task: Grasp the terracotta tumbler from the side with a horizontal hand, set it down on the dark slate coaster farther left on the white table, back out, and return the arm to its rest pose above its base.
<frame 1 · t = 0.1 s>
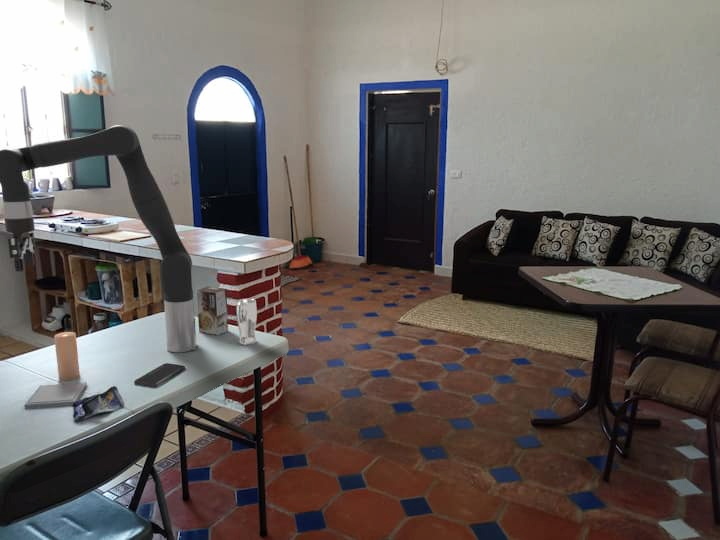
hand: (25, 268, 170), 29 cm above the table, tool pointing down, fingers open, 8 cm apart
coaster: (57, 396, 149), on the table
coffee box: (213, 331, 204), on the table
tumbler: (69, 376, 162), on the table
phone: (160, 377, 164), on the table
beer glass: (247, 342, 194), on the table
snack package: (96, 413, 142), on the table
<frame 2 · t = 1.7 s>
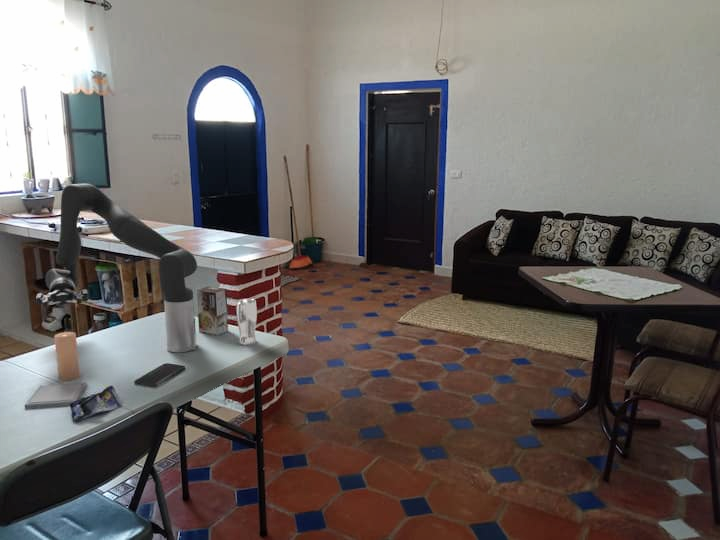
hand: (62, 303, 167), 20 cm above the table, tool horizontal, fingers open, 8 cm apart
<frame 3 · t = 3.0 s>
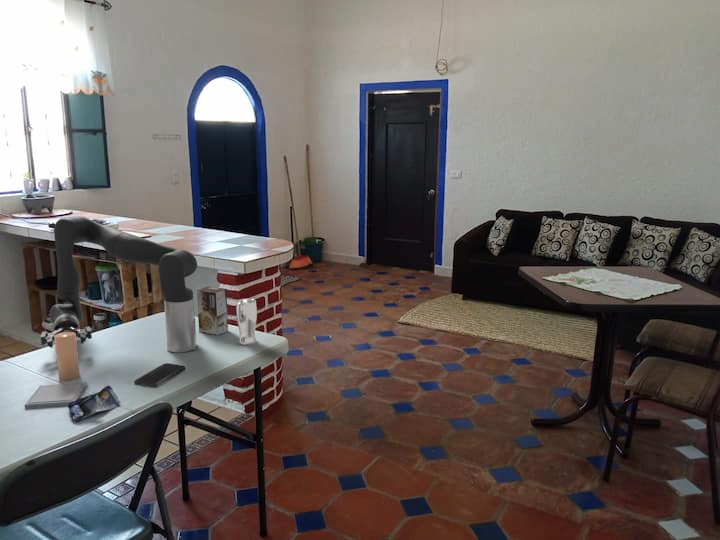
hand: (66, 342, 170), 7 cm above the table, tool horizontal, fingers open, 8 cm apart
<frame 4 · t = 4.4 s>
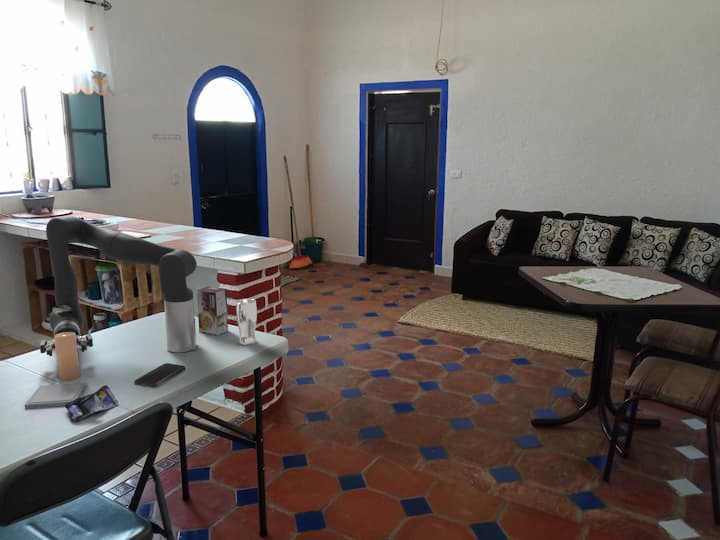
hand: (66, 351, 163), 7 cm above the table, tool horizontal, fingers open, 8 cm apart
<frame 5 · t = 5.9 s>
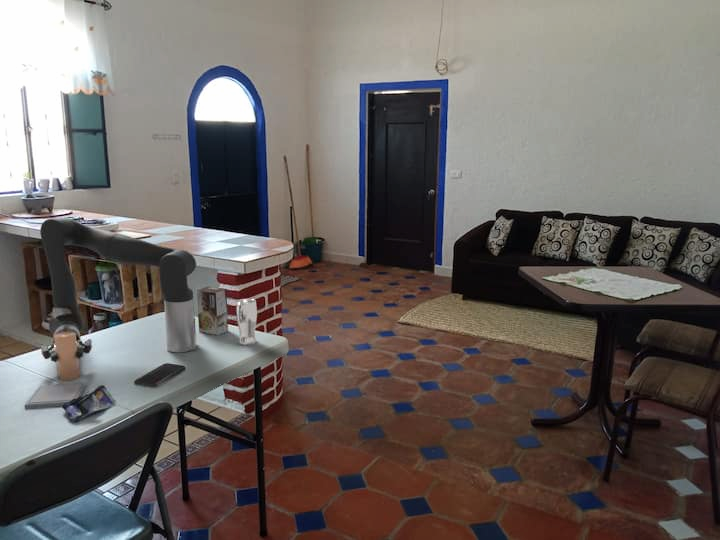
hand: (67, 357, 158), 7 cm above the table, tool horizontal, fingers closed on tumbler, 5 cm apart
tumbler: (69, 376, 162), on the table, touching gripper
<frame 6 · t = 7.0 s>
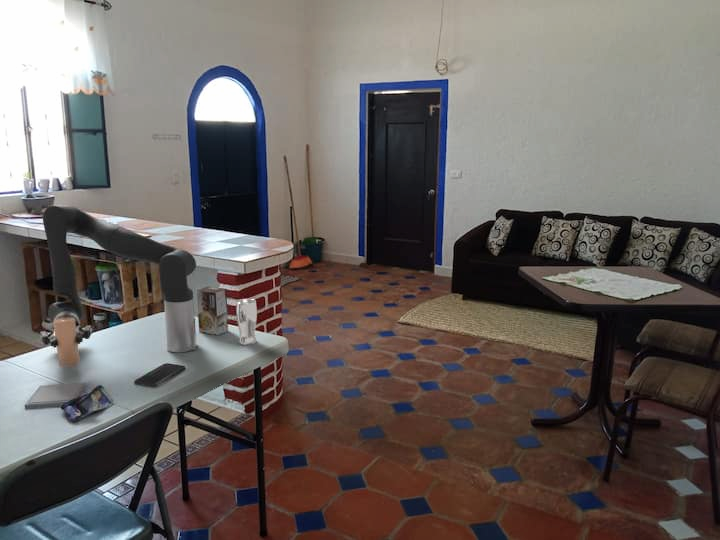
hand: (66, 342, 157), 12 cm above the table, tool horizontal, fingers closed on tumbler, 5 cm apart
tumbler: (69, 362, 161), point 5 cm above the table, touching gripper
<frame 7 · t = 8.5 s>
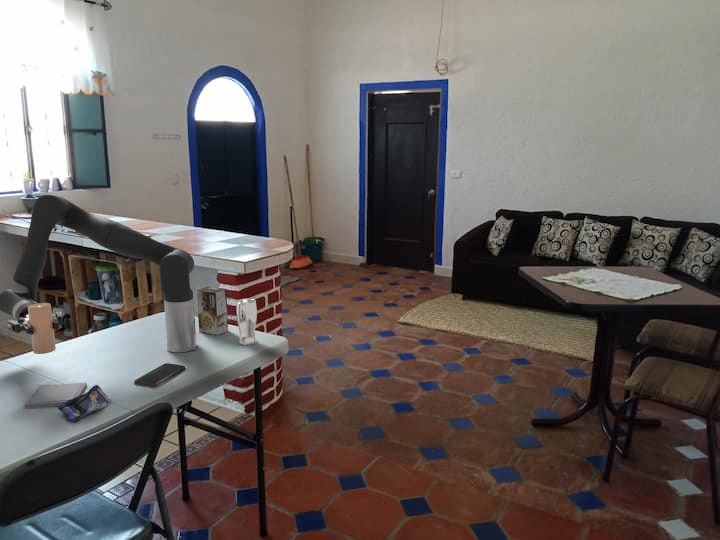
hand: (44, 328, 150), 18 cm above the table, tool horizontal, fingers closed on tumbler, 5 cm apart
tumbler: (44, 350, 154), point 11 cm above the table, touching gripper
when the fingers open (9 cm above the table, at t = 11.4 s): tumbler drops 1 cm, resting on coaster.
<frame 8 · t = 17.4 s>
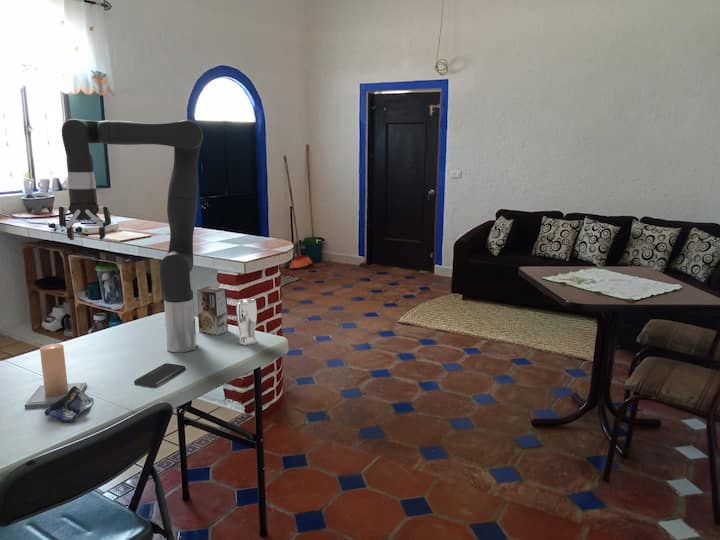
hand: (87, 239, 171), 38 cm above the table, tool pointing down, fingers open, 8 cm apart
tumbler: (56, 392, 149), point 1 cm above the table, touching coaster
snack package: (73, 414, 141), on the table
everything else where it was.
at the end: tumbler 0.1 cm from the coaster (horizontally); tumbler tilted 0°; the gripper is holding nothing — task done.
